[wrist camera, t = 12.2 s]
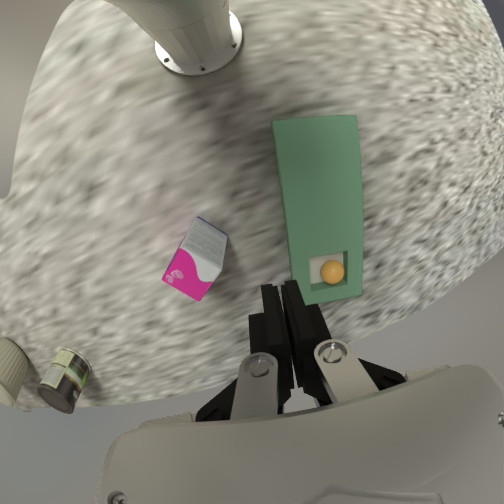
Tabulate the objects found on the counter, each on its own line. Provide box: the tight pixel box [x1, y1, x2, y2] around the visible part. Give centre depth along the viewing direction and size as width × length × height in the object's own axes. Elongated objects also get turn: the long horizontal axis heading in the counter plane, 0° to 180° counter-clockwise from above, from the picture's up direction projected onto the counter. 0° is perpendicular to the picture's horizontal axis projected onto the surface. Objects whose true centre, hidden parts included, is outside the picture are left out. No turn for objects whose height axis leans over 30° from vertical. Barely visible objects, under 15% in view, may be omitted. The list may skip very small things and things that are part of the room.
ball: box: [320, 259, 344, 284], centre depth 43 cm, size 4×4×4 cm
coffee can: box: [37, 347, 91, 414], centre depth 48 cm, size 10×10×14 cm
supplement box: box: [162, 217, 228, 301], centre depth 37 cm, size 6×6×12 cm
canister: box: [0, 338, 28, 407], centre depth 45 cm, size 18×18×21 cm
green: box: [271, 115, 363, 305], centre depth 40 cm, size 30×12×2 cm, turn 9°
